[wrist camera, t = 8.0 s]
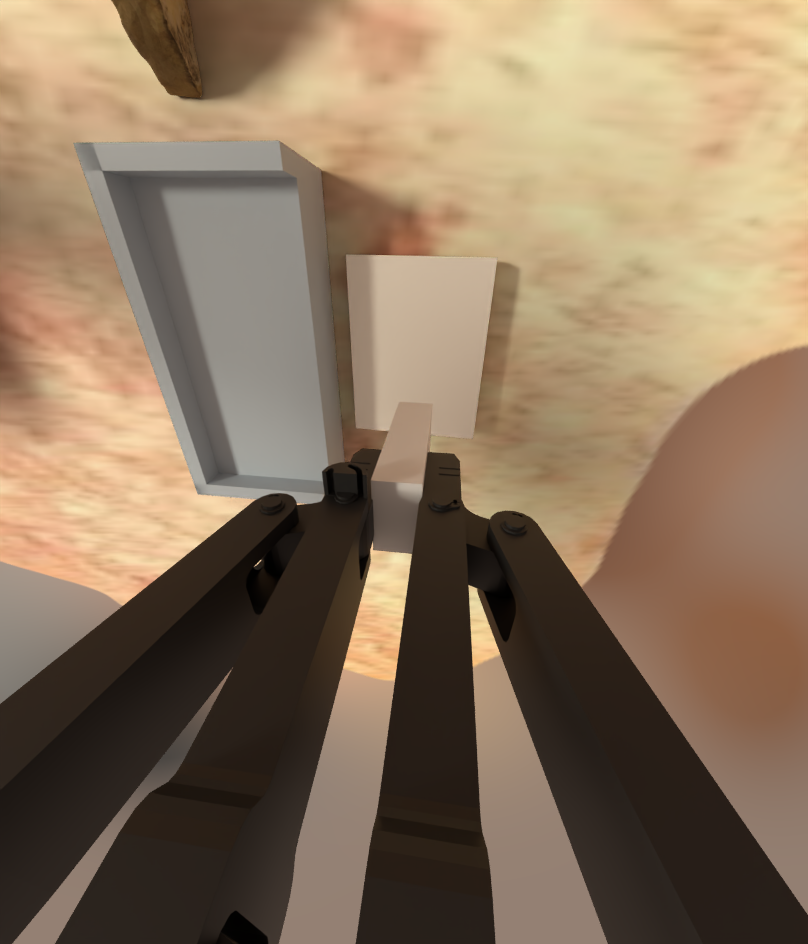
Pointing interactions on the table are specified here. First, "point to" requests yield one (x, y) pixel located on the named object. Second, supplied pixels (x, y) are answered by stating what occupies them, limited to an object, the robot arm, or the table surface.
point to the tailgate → (419, 337)
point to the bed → (229, 304)
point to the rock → (164, 41)
